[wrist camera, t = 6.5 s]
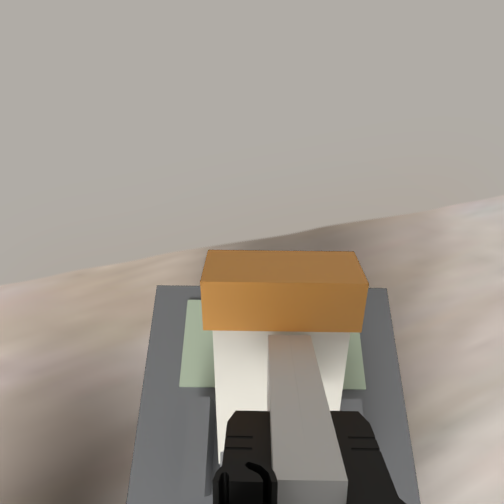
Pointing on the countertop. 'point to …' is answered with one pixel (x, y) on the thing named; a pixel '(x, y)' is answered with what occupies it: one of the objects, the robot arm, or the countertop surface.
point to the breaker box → (204, 401)
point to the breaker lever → (277, 319)
